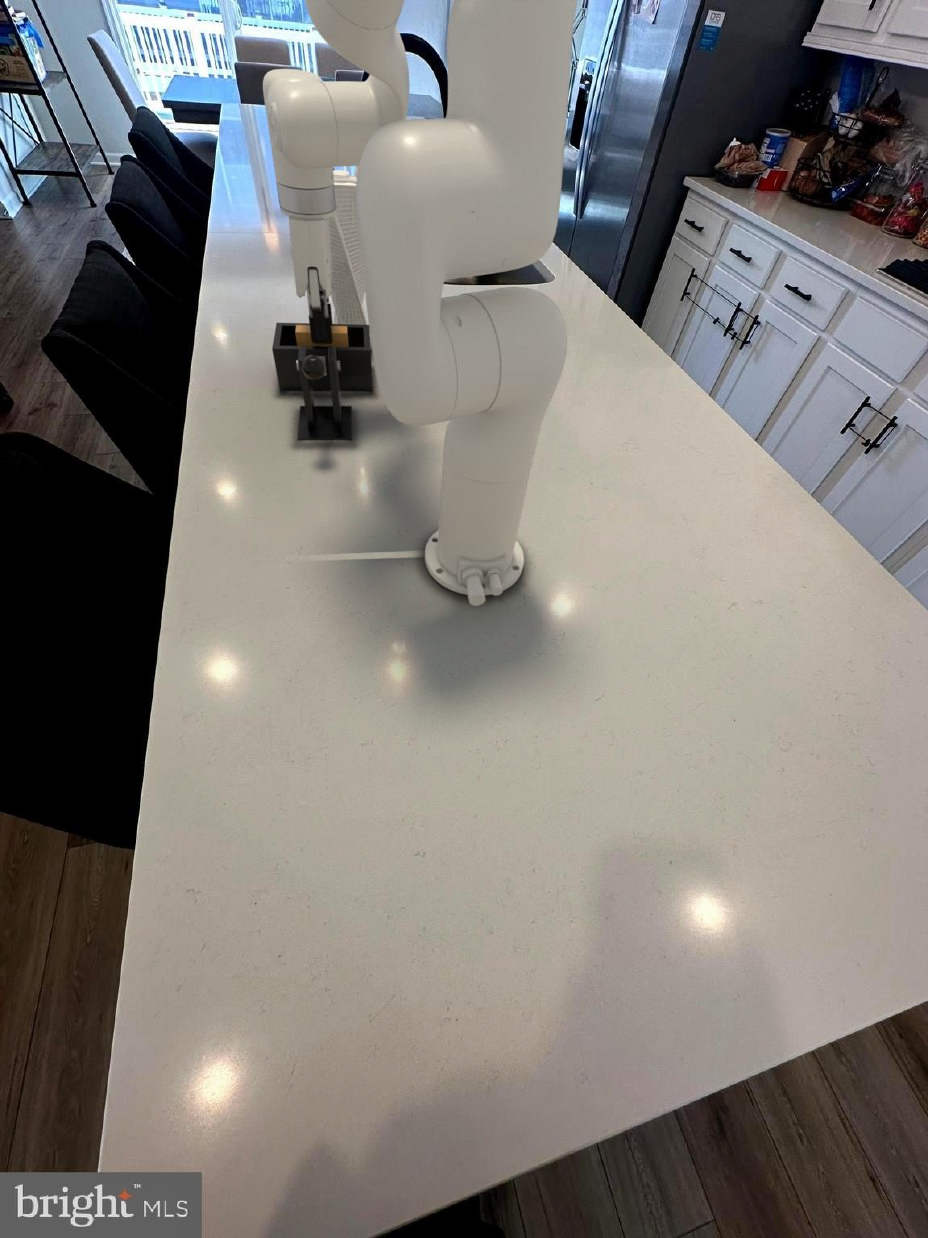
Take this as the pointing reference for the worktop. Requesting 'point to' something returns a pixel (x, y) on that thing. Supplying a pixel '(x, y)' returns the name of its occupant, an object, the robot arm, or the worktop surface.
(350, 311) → the skyscraper
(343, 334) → the orange square tile
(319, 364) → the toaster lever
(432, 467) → the worktop surface
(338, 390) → the lever bracket
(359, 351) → the black open box
